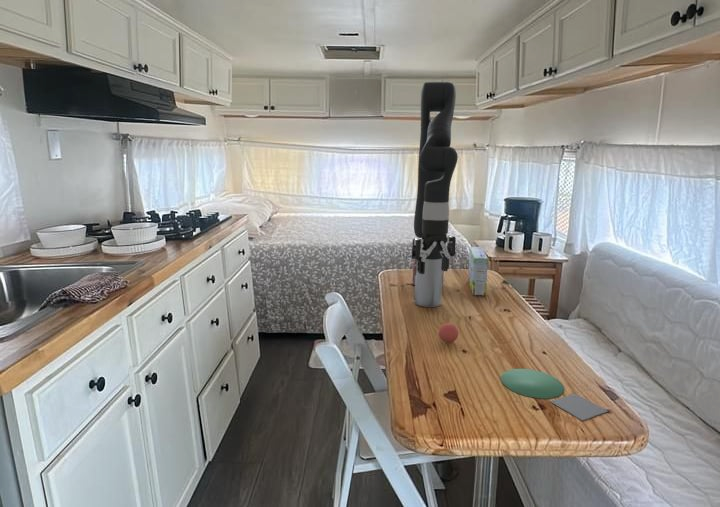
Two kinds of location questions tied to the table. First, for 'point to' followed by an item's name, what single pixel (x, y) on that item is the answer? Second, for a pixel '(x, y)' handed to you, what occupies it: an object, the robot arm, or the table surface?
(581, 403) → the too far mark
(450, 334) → the ball
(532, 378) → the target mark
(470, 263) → the snack box
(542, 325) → the table surface
